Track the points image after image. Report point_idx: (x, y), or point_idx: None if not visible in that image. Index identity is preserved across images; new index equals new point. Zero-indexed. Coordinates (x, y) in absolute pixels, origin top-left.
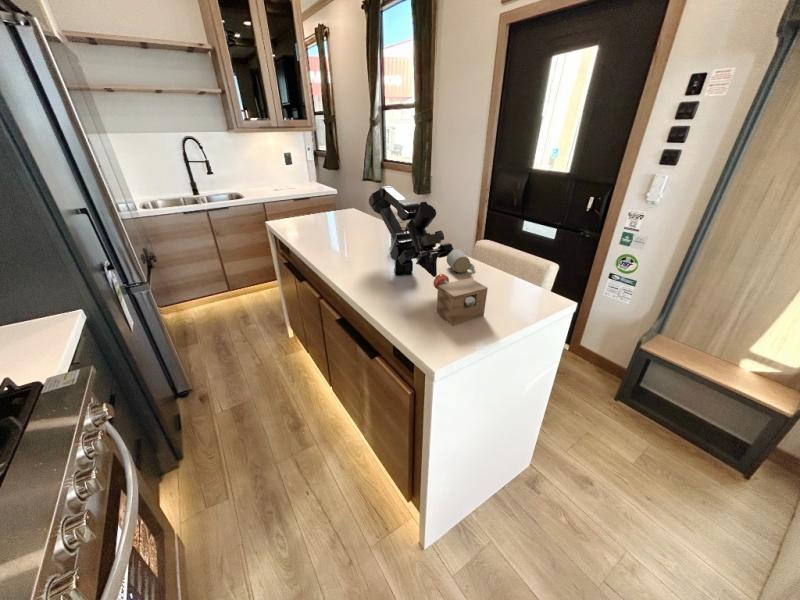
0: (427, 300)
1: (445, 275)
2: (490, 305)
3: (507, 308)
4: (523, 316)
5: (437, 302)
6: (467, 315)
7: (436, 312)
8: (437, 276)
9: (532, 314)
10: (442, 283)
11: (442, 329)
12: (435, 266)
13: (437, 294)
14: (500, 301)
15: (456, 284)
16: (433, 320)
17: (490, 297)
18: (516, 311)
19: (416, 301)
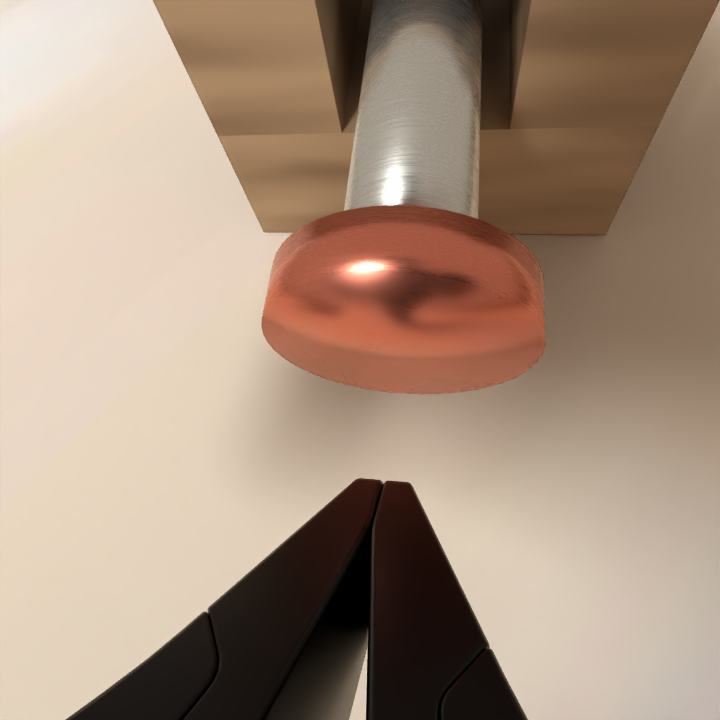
0: (548, 483)
1: (325, 220)
2: (136, 154)
3: (90, 88)
4: (112, 4)
5: (648, 135)
6: None
7: (608, 226)
8: (485, 273)
9: (55, 2)
10: (468, 196)
11: None
12: (262, 599)
13: (692, 54)
14: (30, 166)
15: None
16: (690, 162)
17: (19, 239)
18: (86, 48)
19: (692, 536)
